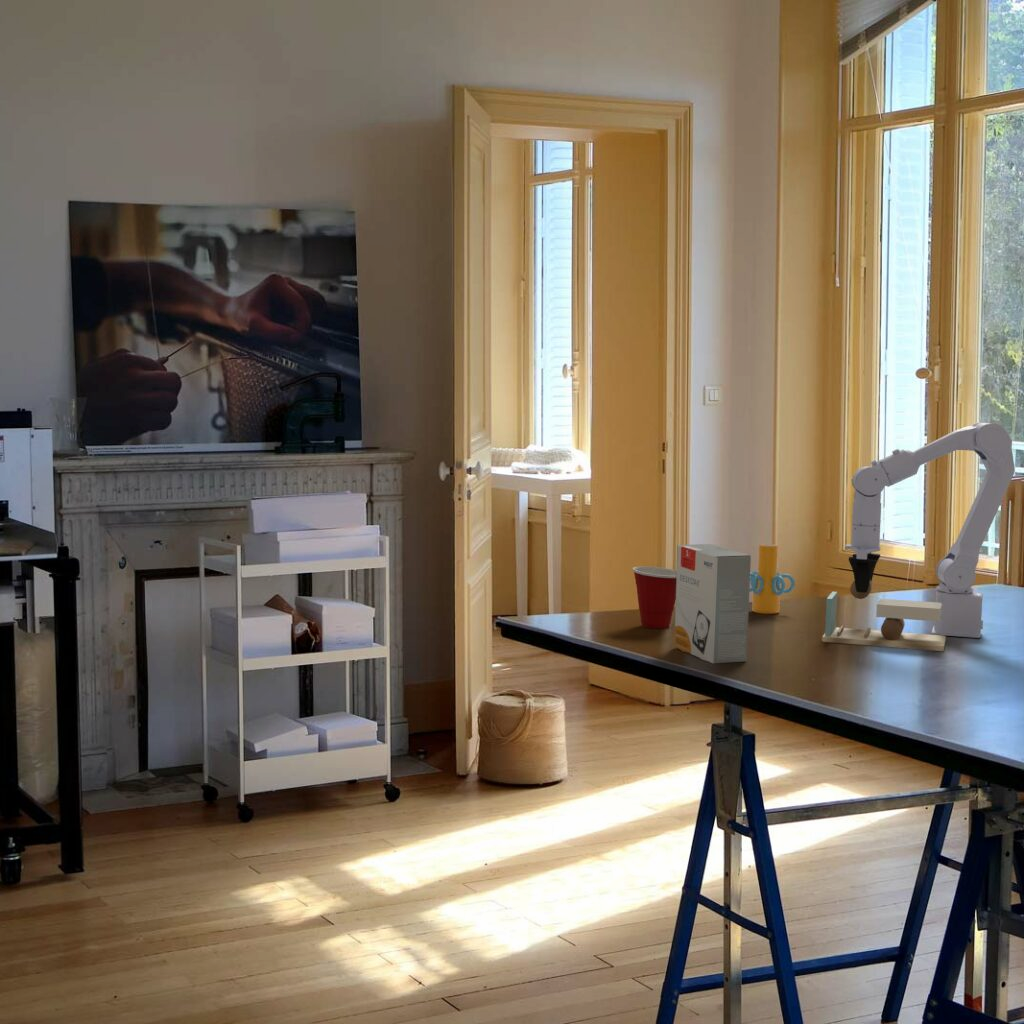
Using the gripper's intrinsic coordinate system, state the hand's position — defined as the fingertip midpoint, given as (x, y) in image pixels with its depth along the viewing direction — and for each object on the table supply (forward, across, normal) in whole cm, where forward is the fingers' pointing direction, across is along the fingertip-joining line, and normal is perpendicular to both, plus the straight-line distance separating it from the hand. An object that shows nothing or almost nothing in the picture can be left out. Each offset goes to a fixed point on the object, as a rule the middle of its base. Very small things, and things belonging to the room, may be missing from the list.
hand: (863, 590), depth 294 cm
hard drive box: (+9, +40, -24) cm, 47 cm away
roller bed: (+8, +11, +6) cm, 15 cm away
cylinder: (+9, -14, -22) cm, 27 cm away
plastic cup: (+9, +15, -40) cm, 44 cm away
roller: (+2, 0, 0) cm, 2 cm away
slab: (+3, +11, +10) cm, 15 cm away
